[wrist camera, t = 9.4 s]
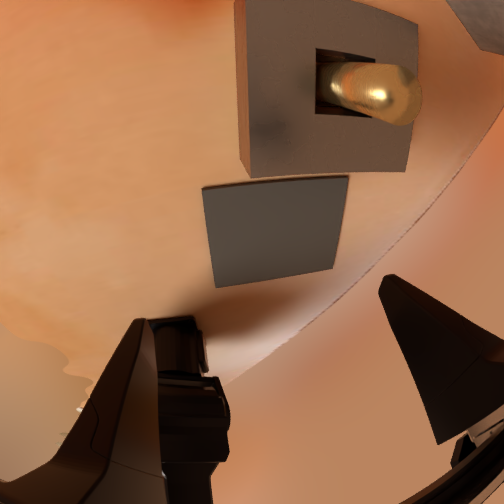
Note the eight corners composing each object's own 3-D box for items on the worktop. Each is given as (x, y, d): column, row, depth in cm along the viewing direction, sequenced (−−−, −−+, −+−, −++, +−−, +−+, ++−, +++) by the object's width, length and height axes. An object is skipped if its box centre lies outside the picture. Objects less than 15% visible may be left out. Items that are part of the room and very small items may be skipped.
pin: (299, 98, 17) (372, 122, 10) (299, 60, 15) (376, 59, 8) (336, 100, 17) (418, 129, 10) (337, 64, 15) (424, 73, 8)
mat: (215, 285, 26) (215, 288, 26) (201, 188, 20) (201, 190, 19) (330, 266, 28) (332, 268, 27) (346, 176, 21) (348, 177, 21)
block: (239, 159, 19) (250, 178, 16) (233, 2, 12) (244, -15, 9) (376, 154, 21) (405, 172, 18) (384, 26, 13) (417, 24, 10)
